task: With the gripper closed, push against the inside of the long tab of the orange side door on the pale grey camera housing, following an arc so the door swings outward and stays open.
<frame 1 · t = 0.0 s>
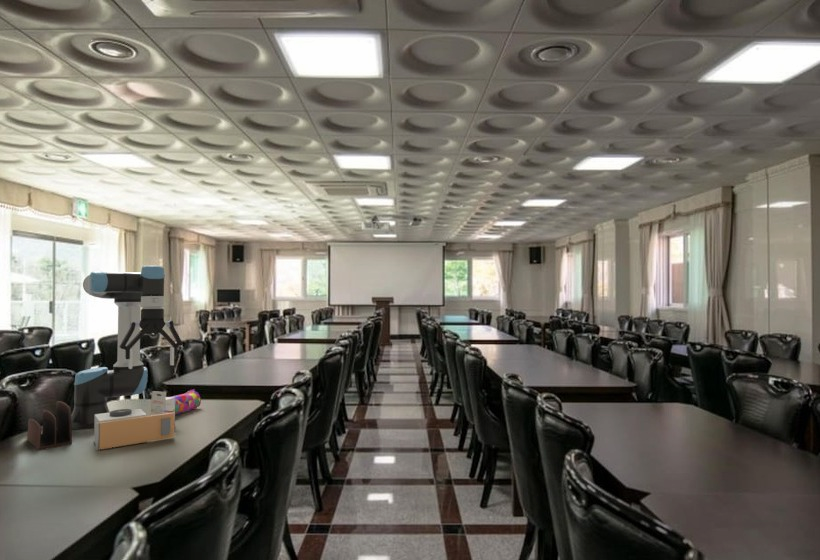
hand: (151, 366, 179), 28 cm above the table, tool pointing down, fingers open, 13 cm apart
pencil case: (180, 413, 229), on the table
ink cartridge box: (162, 426, 204), on the table
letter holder: (49, 442, 183), on the table
camera housing: (120, 441, 182), on the table
side door: (136, 430, 178), point 5 cm above the table, hinge at 0.0°
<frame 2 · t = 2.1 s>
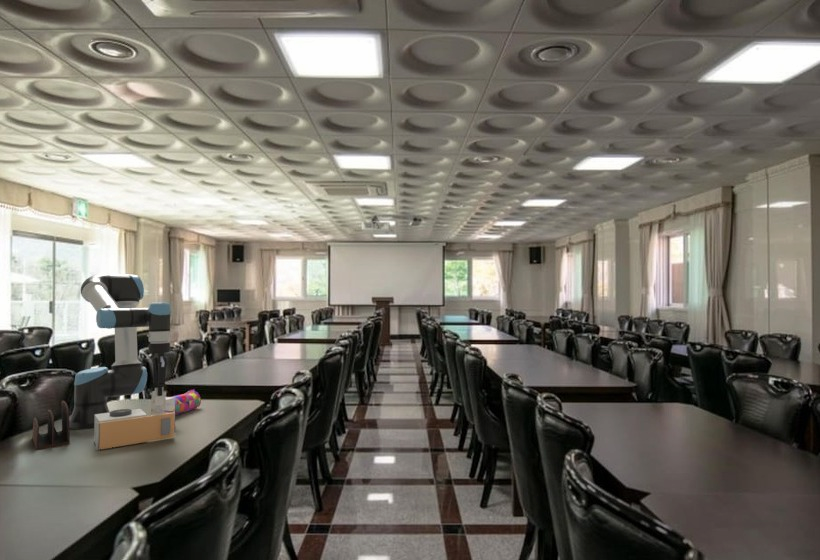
hand: (158, 404, 189), 12 cm above the table, tool pointing down, fingers closed
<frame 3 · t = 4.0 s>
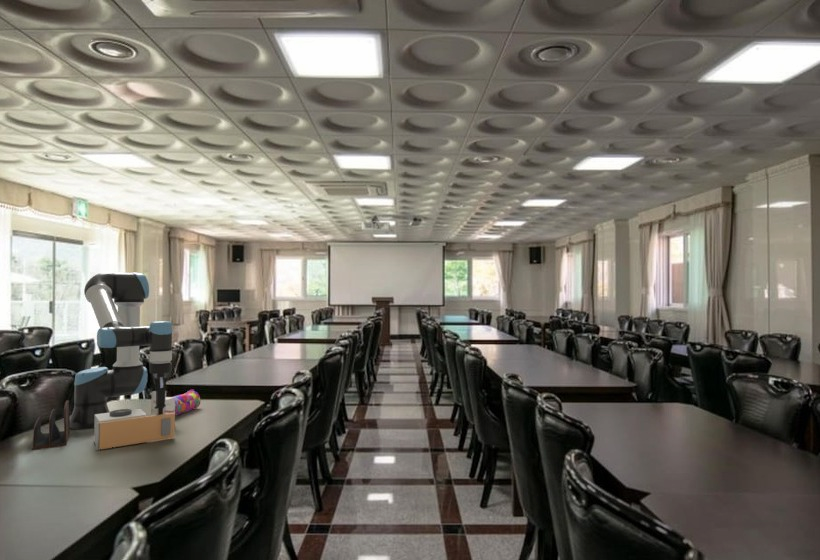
hand: (160, 425, 186), 5 cm above the table, tool pointing down, fingers closed
side door: (136, 430, 178), point 5 cm above the table, hinge at 1.2°, touching gripper
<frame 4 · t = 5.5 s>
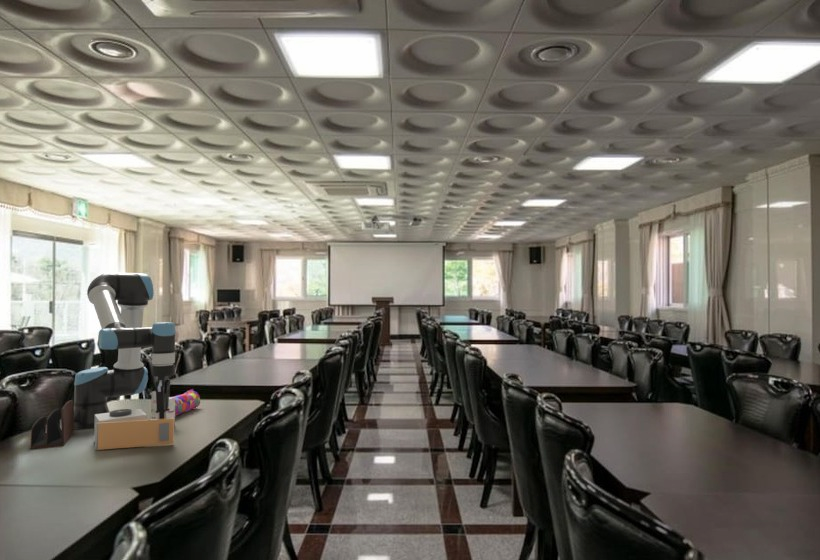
hand: (162, 429, 179), 5 cm above the table, tool pointing down, fingers closed
side door: (134, 433, 174), point 5 cm above the table, hinge at 23.8°, touching gripper
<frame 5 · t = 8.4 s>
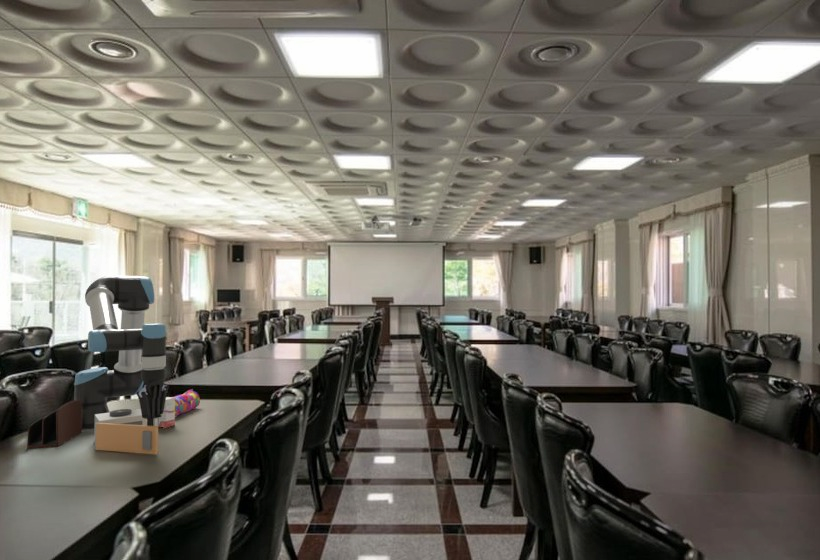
hand: (152, 437, 170), 5 cm above the table, tool pointing down, fingers closed
side door: (124, 438, 168), point 5 cm above the table, hinge at 51.8°, touching gripper
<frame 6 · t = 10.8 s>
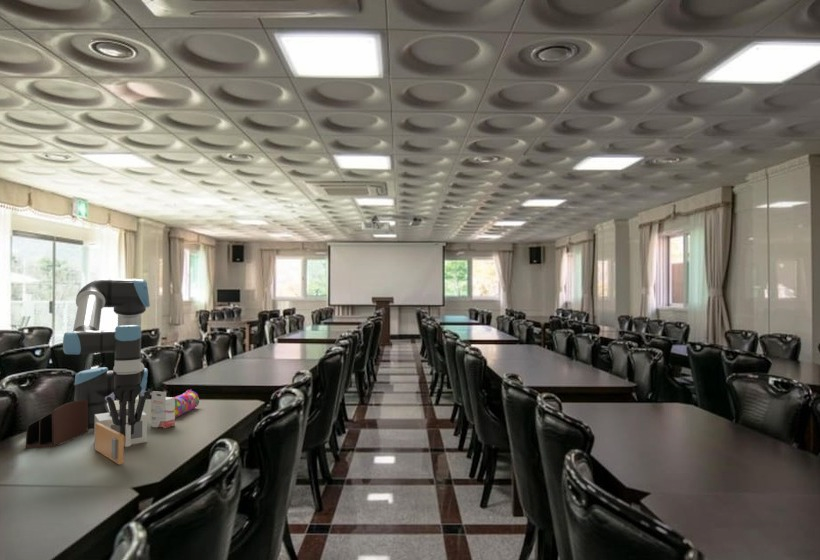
hand: (126, 445, 160), 5 cm above the table, tool pointing down, fingers closed
side door: (106, 442, 163), point 5 cm above the table, hinge at 80.8°, touching gripper
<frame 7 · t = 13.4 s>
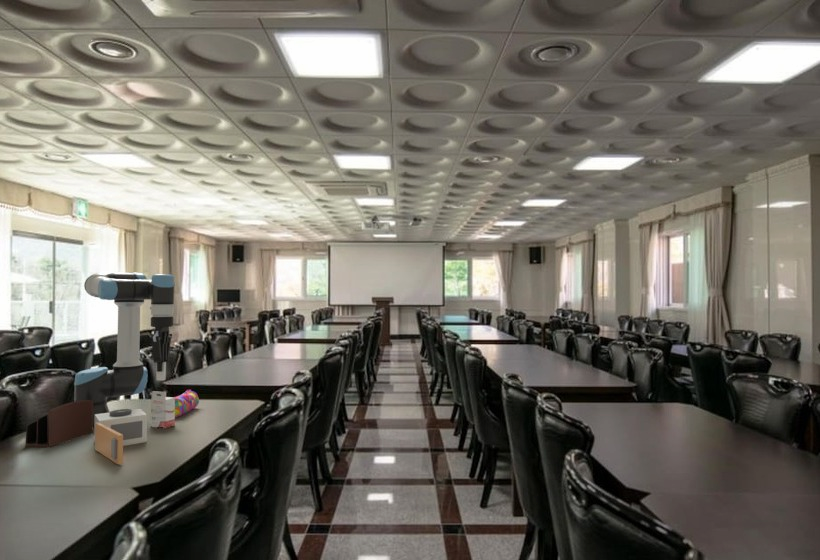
hand: (160, 380, 181), 23 cm above the table, tool pointing down, fingers closed
side door: (106, 442, 163), point 5 cm above the table, hinge at 81.1°
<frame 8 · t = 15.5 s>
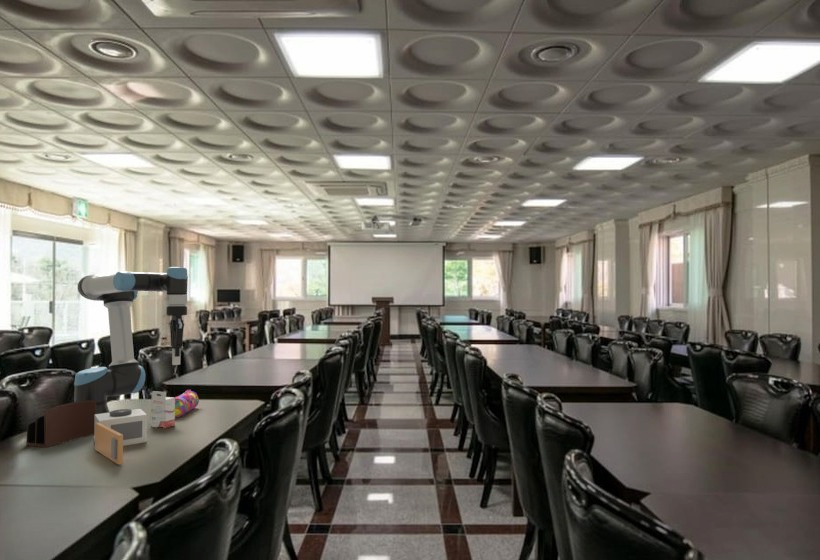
hand: (176, 364, 197), 26 cm above the table, tool pointing down, fingers closed
at the end: side door at +81° (first picture: +0°); ink cartridge box moved 0.3 cm from its start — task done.
